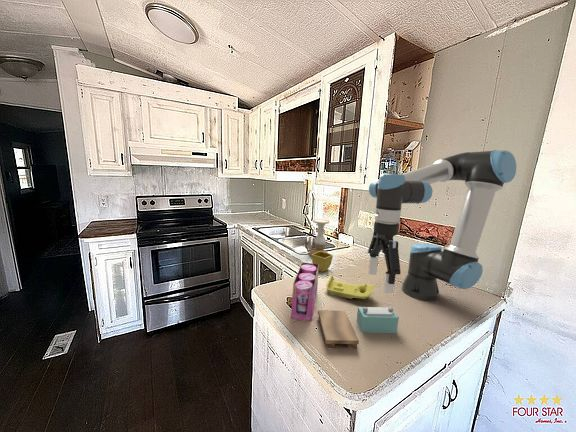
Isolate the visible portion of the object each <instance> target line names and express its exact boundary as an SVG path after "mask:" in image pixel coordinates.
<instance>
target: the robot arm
mask: <svg viewBox="0 0 576 432" xmlns="http://www.w3.org/2000/svg"><path fill="white" fill-rule="evenodd" d="M516 174H517V160H516V157H515V156H514V155H513V153H512V152H511V151H509V150H498V149H497V150H496V149H493V150H485V151H484V150H483V151H473V152H472V151H471V152H470V151H467V152H461V153H457V154H454V155H450V156H447V157H444V158H441V159H438V160H436V161H435V162H434V163H433V164H430V165H426V166H423V167H420V168H417V169H414V170H411V171H408V172H404V173H399V174H398V173H382V174H381V175H379V179H378V178H377V179H376V178H375V179H373V180H372V181H371V182H370V183H369V186H368V193H369V195H370V196H371V197H372V198H375V199H376V204H375V211H374V212H373V213H374V219H375V221H374V222H373V233H372V237H371V241H370V244H369V247H368V250H367V252H368V254H369V258H370V259H369V266H368V275H376V276H377V274H378V273H377V272H378V266H379V257H380V255H379V254H380V253H381V251H382V254H383V256H384V260H385V264H386V265H385V266H386V271H385V278H384V279H385V280H384V286H383V287H384V288H383V292H384V293H386V294H394V290H395V282H396V276H397V275H400V276H401V264H400V255H399V241H397V240H395V241H394V237H396V236H397V235H398V234H399V229H400V224H399V222H401V221H400V220H401V213H402V205H403V204H417V205H419V204H425V203H427V202H429V201H430V199H431V198H432V196H433V190H434V189H433V188H432V184H435V183H437V182H440V183H444V182H447V181H464V185H465V186H466V188H467V190H466V193H465V195H464V196H465V197H464V199H463V202H462V206H461V209H460V212H459V215H458V218H457V221H456V224H455V227H454V231H453V234H452V237H451V240H450V244H449V245H447V246H445V247H444V248H442V246H441V245H438V244H433V243H414V244H413V245H412V246H411V248H410V249H411V250H410V254H409V260H408V261H409V262H408V268H407V269H408V270H407V274H406V276H405V279H404V281H403V282H402V283H401V290H402V292H404V293H405V294H406V295H407V296H409V297H412V298H415V299H418V300H423V301H436V300H438V299H439V297H440V289H439V285H438V281H437V280H440V281H442V282H444V283H447V284H448V285H451V286H453V287H455V288H458V289H462V290H469V289H470V288H472V287H474V286H475V285H476V284H477V283H478V282H479V280H480V279H481V278H482V275H483V271H484V269H483V265H482V264H481V262H479V259H480V257H479V255H478V254H477V249H478V246H479V243H480V240H481V238H482V234H483V231H484V228H485V226H486V222H487V220H488V219H487V218H488V217H489V212H490V210H491V207H492V203H493V200H494V198H495V195H496V192H498V191H500V190H502V189H503V187H504V185H505V184H508V183H510V182H512V180H513V179H514V178H515V176H516ZM442 249H443V250H442Z"/></svg>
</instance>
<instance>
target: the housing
mask: <svg viewBox="0 0 576 432" xmlns="http://www.w3.org/2000/svg"><path fill="white" fill-rule="evenodd" d="M356 323H357V325H358V327H359V329H360V331H361V333H368V334H369V333H372V334H373V333H376V334H377V333H378V334H398V327H399V316H398V315H397V314H396V312H395V311H394V308H393V307H390V306H388V307H387V306H386V307H378V306H377V307H376V306H375V307H374V306H358V307H357V313H356Z"/></svg>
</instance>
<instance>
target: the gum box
mask: <svg viewBox="0 0 576 432" xmlns="http://www.w3.org/2000/svg"><path fill="white" fill-rule="evenodd" d="M318 268H319V264H313V263H312V262H302V263H301V264H300V267H299V269H298V272H297V275H296V277H295V278H294V281H293V282H292V283H293V284H292V298H291V312H290V313H291V314H290V319H294V320H300V321H305V322H312V319H313V316H314V312H315V311H314V310H315V306H316V300H317V295H318V284H319V282H318V281H319V270H318Z"/></svg>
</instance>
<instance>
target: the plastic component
mask: <svg viewBox="0 0 576 432" xmlns="http://www.w3.org/2000/svg"><path fill="white" fill-rule="evenodd" d="M375 285H376V284H375V283H371V284H367V283H359V284H353V283H349V282H343V281H339V280H335V278H334V276H333V275H330V277H329V279H328V282H327V283H326V291H327V293H328V294H329V295H333V296H337V297H341V298H346V299H350V300H352V299H353V298H355V299H361V300H367V299H368V297H370V296H371V295H372V294H373V292H374V288H375Z"/></svg>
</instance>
